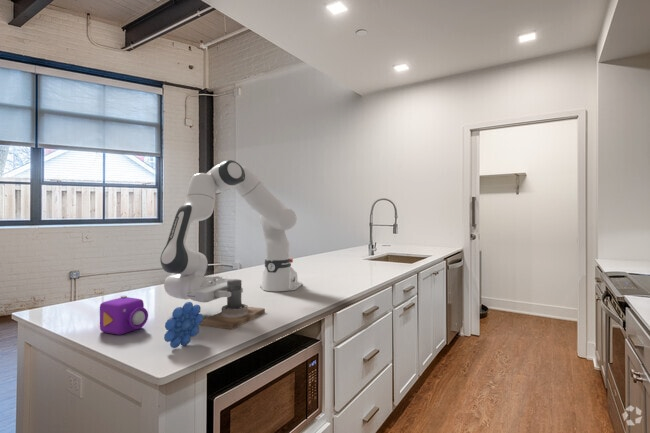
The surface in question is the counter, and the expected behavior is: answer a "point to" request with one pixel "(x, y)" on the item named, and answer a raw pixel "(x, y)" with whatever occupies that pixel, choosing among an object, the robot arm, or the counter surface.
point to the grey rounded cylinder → (234, 294)
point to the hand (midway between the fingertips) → (236, 292)
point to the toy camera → (122, 315)
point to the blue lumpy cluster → (183, 325)
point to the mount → (232, 317)
